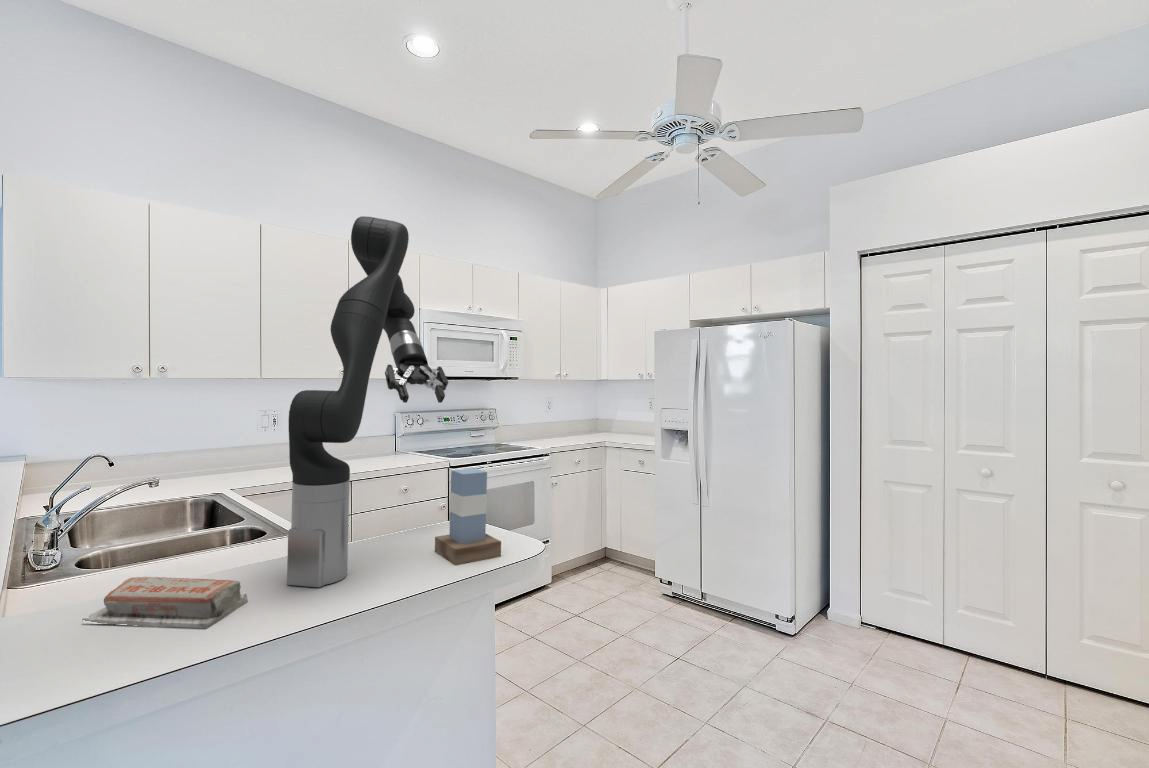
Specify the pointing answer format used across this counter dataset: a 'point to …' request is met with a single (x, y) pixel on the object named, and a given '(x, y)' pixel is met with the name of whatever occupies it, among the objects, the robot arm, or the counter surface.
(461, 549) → the podium
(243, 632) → the counter surface
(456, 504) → the carton
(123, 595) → the packaged product
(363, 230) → the robot arm
